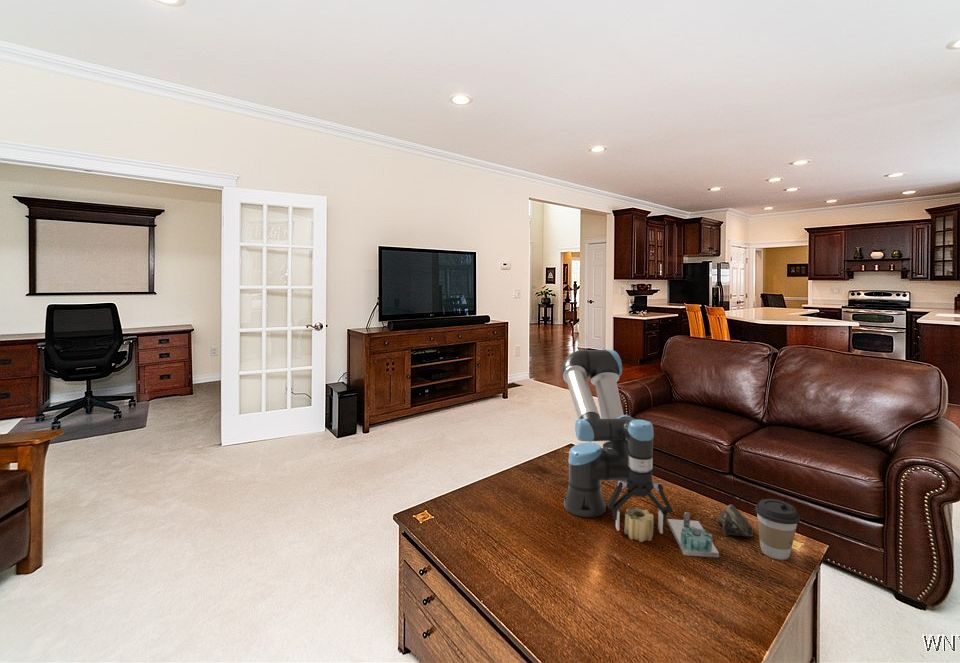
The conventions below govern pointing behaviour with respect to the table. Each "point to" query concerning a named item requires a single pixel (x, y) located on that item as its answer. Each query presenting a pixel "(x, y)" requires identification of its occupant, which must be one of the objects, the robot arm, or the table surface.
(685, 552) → the carrier
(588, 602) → the table surface
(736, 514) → the grey rock
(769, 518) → the coffee cup
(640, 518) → the gear
